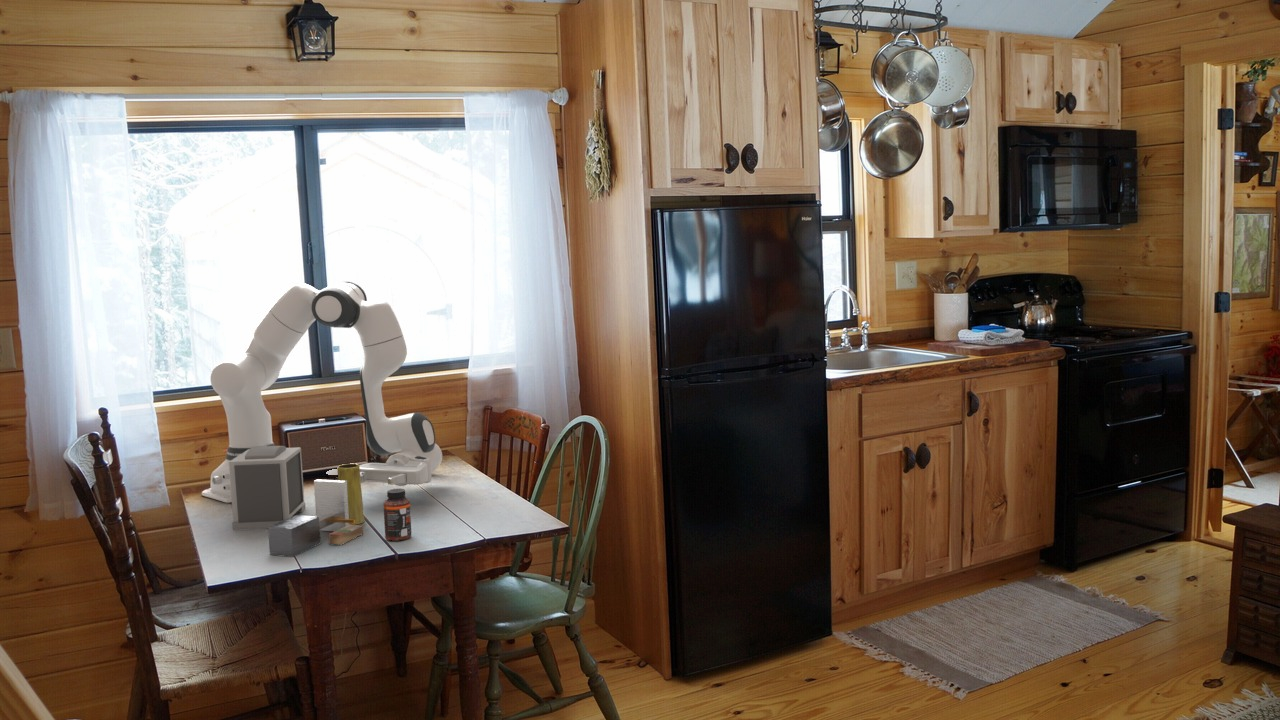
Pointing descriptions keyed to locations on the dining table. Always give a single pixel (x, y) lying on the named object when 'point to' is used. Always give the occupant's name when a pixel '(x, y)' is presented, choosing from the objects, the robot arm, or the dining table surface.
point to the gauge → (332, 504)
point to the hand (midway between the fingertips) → (373, 480)
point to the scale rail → (345, 534)
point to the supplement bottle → (397, 515)
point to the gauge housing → (294, 535)
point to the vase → (352, 490)
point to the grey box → (266, 486)
